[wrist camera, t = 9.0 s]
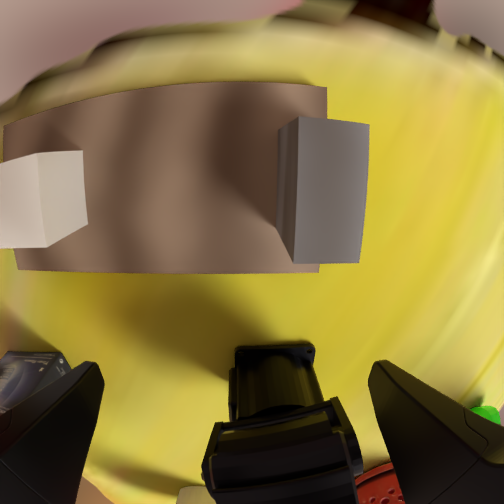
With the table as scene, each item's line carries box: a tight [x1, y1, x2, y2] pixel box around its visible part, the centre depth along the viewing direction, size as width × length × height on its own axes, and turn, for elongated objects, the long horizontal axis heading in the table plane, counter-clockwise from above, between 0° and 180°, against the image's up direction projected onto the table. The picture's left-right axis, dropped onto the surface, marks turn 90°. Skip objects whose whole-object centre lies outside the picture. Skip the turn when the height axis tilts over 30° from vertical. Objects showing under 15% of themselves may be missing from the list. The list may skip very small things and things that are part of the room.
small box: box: [0, 351, 71, 415], centre depth 18 cm, size 11×6×10 cm, turn 101°
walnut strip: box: [3, 82, 369, 274], centre depth 14 cm, size 24×12×7 cm, turn 89°
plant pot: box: [355, 462, 405, 504], centre depth 28 cm, size 13×13×12 cm
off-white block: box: [0, 150, 88, 248], centre depth 14 cm, size 5×5×5 cm
